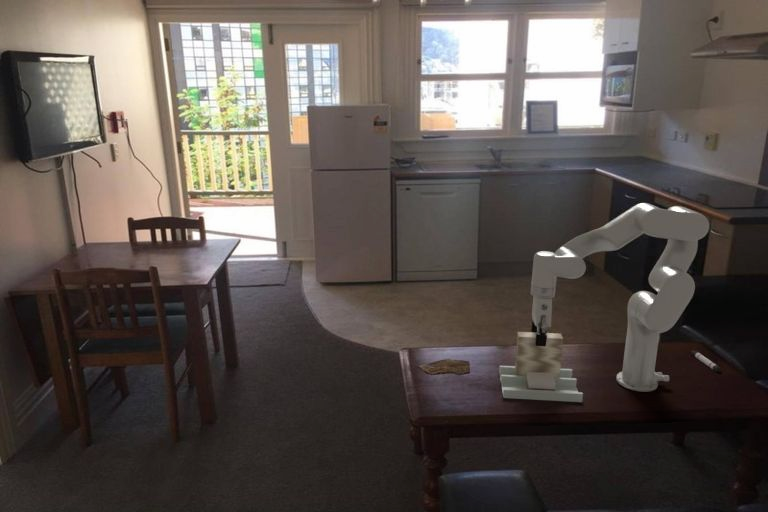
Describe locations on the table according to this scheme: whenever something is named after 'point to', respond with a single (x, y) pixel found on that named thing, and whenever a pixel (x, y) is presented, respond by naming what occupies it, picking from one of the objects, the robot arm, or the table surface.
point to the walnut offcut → (537, 388)
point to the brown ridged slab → (447, 366)
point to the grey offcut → (541, 380)
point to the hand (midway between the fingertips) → (538, 339)
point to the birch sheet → (538, 354)
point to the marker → (706, 361)
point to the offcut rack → (517, 389)
